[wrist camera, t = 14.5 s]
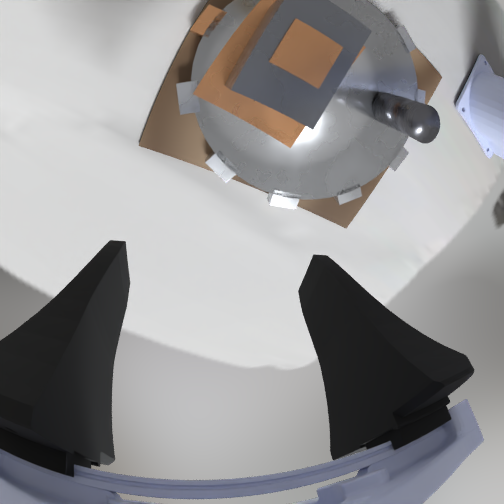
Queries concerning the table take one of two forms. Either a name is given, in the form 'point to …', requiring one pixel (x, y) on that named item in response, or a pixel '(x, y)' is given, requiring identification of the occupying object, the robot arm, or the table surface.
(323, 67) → the gray cube
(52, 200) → the table surface
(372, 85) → the sprocket
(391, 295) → the table surface
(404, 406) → the robot arm
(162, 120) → the walnut board
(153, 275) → the table surface
